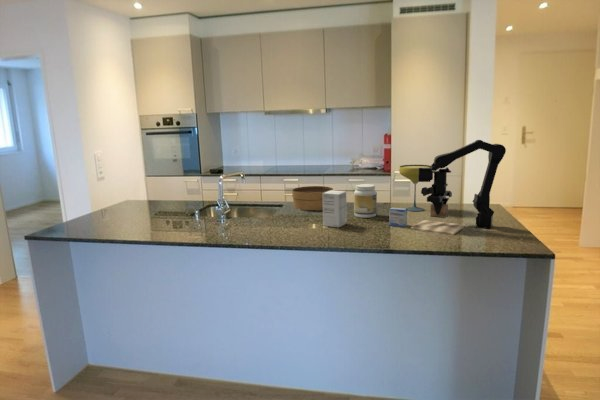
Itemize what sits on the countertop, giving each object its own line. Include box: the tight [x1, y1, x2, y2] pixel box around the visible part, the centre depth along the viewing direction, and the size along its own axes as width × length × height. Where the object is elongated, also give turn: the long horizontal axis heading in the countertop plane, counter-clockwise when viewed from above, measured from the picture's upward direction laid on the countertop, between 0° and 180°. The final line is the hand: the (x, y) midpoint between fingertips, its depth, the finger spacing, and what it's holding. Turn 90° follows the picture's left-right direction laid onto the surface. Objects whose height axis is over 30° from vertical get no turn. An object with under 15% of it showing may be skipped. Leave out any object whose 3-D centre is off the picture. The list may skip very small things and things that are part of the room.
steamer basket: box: [291, 185, 334, 211], centre depth 259 cm, size 25×25×11 cm
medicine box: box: [388, 207, 408, 228], centre depth 208 cm, size 8×4×9 cm, turn 62°
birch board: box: [410, 219, 466, 236], centre depth 202 cm, size 20×18×1 cm
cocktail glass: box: [398, 164, 431, 213], centre depth 241 cm, size 18×18×25 cm
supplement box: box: [322, 189, 348, 228], centre depth 212 cm, size 10×9×17 cm
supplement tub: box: [353, 183, 378, 219], centre depth 230 cm, size 12×12×17 cm
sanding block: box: [429, 203, 449, 219], centre depth 204 cm, size 7×4×6 cm, turn 53°
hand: (439, 213), depth 204 cm, fingers closed on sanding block, 4 cm apart
